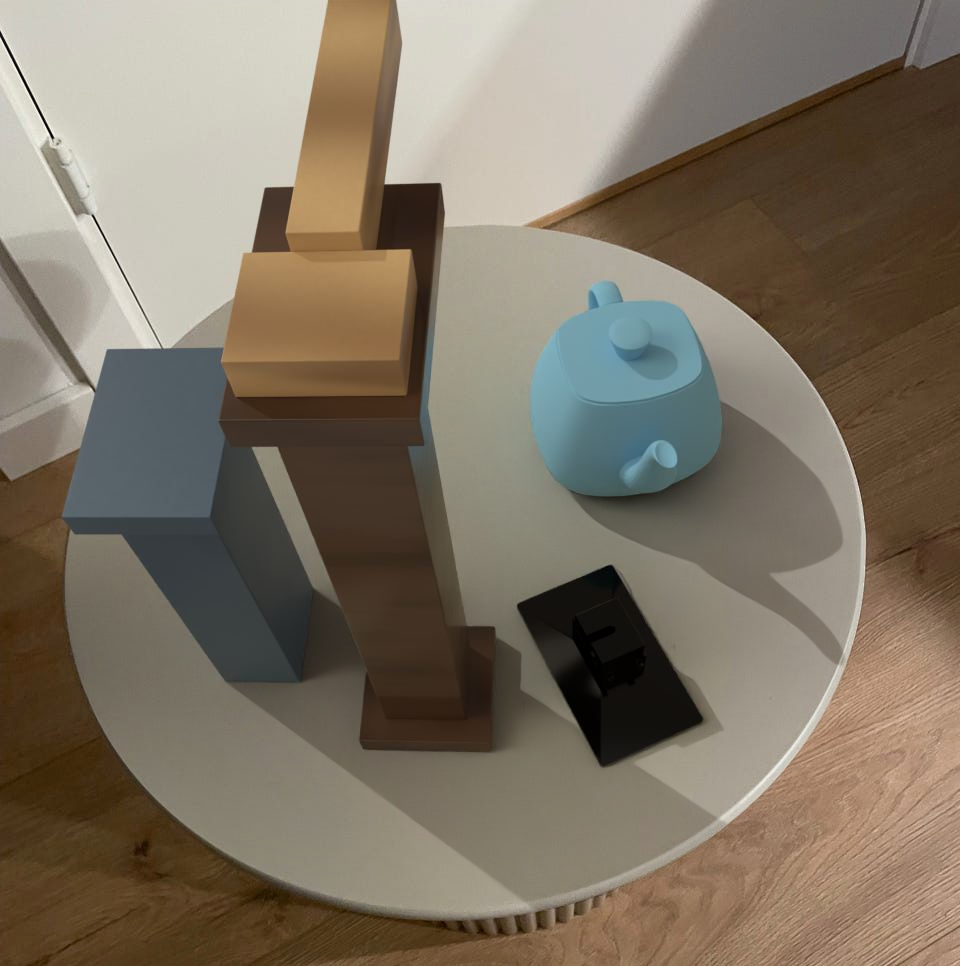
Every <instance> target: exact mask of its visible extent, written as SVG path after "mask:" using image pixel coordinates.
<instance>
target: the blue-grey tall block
mask: <svg viewBox="0 0 960 966" xmlns="http://www.w3.org/2000/svg"><path fill="white" fill-rule="evenodd" d="M223 349H224V347H171V348H170V347H159V348H157V347H156V348H155V347H154V348H106V351H105V355H104V359H103V362H102V366H101V369H100V373H99V377H98V381H97V384H96V388H95V392H94V395H93V398H92V403H91V406H90V410H89V414H88V418H87V420H86V425H85V428H84V432H83V435H82V439H81V443H80V447H79V451H78V454H77V458H76V462H75V465H74V468H73V472H72V477H71V481H70V484H69V488H68V490H67V495H66V498H65V502H64V506H63V510H62V512H61V513H62V514H61V520H63V521H64V523H65V524H66V525H67V526H68V528H69V529H70V531H71V532H72V533H73V534H74V535H95V536H96V535H99V536H101V535H104V536H105V535H106V536H107V535H108V536H109V535H111V536H114V535H115V536H117V535H121V536H122V538H123V539H124V541H125V542H126V543H127V545H128V546H129V548H130V549H131V550H132V552H133V553H134V555H135V556H136V557H137V559H138V561H139V562H140V563H141V565H142V566H143V568H144V569H145V570H146V572H147V573H148V575H149V576H150V577H151V579H152V580H153V581H154V583H155V584H156V586H157V587H158V589H159V590H160V591H161V593H162V595H163V596H164V597H165V599H166V600H167V601H168V604H170V606H171V608H172V609H173V610H174V611H175V613H176V614H177V616H178V618H179V619H180V620H181V621H182V623H183V624H184V626H185V627H186V628H187V630H188V631H189V633H190V634H191V635H192V637H193V638H194V640H195V641H196V642H197V644H198V646H199V647H200V648H201V650H202V651H203V653H204V654H205V655H206V657H207V658H208V659H209V661H210V662H211V664H212V666H213V667H214V668H215V670H216V671H217V673H218V674H219V675H220V677H221V678H222V680H223V681H224V682H238V683H243V682H244V683H245V682H246V683H249V682H250V683H253V682H254V683H301V681H302V680H301V679H302V672H303V666H304V659H305V651H306V643H307V637H308V629H309V621H310V613H311V607H312V599H313V592H314V587H313V585H312V582H311V581H310V578H309V576H308V573H307V571H306V569H305V567H304V564H303V562H302V559H301V557H300V555H299V553H298V551H297V548H296V546H295V543H294V541H293V539H292V537H291V535H290V534H291V533H290V532H289V530H288V527H287V525H286V523H285V521H284V518H283V516H282V514H281V511H280V509H279V507H278V504H277V502H276V500H275V497H274V495H273V493H272V491H271V488H270V486H269V484H268V482H267V479H266V477H265V475H264V472H263V469H262V468H261V465H260V463H259V461H258V458H257V456H256V454H255V452H254V449H253V447H230V446H229V444H228V442H227V440H226V437H225V435H224V433H223V431H222V429H221V427H220V425H219V422H218V418H219V413H220V408H221V403H222V398H223V393H224V388H225V383H226V378H227V375H226V373H225V370H224V368H223V366H222V363H221V359H222V354H223Z"/></svg>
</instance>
